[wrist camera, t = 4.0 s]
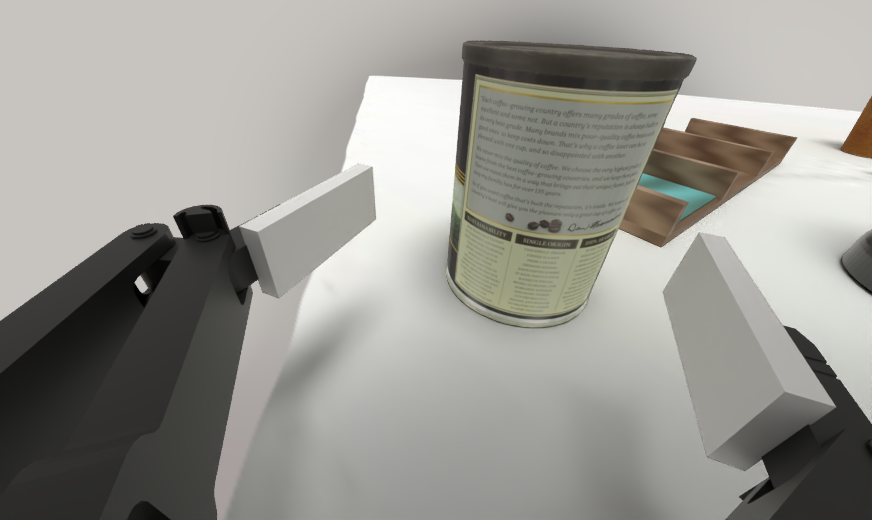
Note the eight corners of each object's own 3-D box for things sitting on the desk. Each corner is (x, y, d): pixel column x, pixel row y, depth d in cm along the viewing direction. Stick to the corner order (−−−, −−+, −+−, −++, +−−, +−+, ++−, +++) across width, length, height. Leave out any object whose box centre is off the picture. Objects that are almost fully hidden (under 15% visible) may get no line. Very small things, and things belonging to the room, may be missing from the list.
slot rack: (779, 164, 50) (797, 137, 48) (661, 247, 28) (684, 205, 26) (681, 141, 59) (693, 118, 57) (532, 190, 37) (541, 155, 34)
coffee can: (423, 252, 26) (430, 36, 17) (529, 231, 29) (577, 44, 21) (489, 350, 18) (558, 49, 10) (622, 306, 21) (754, 58, 13)
